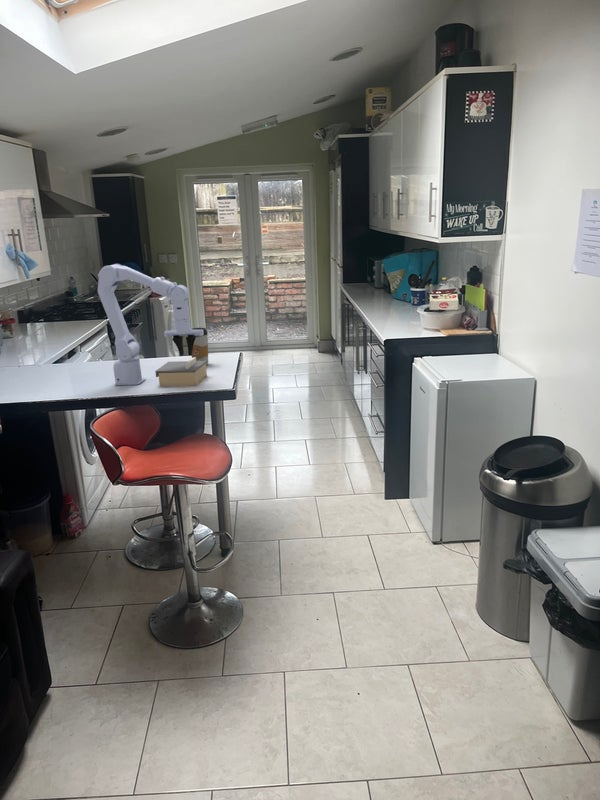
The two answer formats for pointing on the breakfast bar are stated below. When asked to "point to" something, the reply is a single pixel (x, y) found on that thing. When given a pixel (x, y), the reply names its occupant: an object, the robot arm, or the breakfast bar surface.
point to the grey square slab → (181, 366)
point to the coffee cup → (200, 347)
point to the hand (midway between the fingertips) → (186, 355)
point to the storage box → (182, 377)
